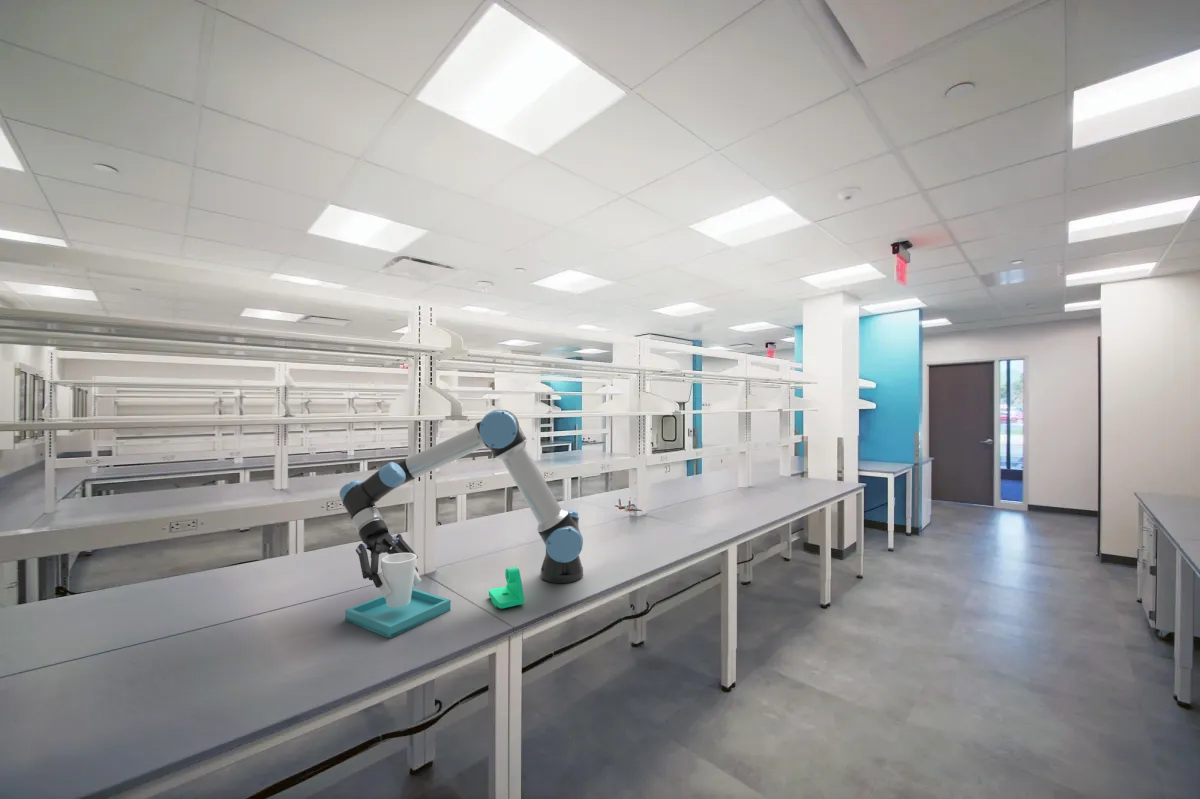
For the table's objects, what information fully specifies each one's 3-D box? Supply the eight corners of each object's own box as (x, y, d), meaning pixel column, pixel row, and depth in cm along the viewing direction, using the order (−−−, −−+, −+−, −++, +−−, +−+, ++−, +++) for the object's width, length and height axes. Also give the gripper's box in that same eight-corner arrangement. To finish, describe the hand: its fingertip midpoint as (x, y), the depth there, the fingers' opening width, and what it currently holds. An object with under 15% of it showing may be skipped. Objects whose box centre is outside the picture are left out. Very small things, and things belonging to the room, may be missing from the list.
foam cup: (406, 593, 142) (406, 550, 142) (422, 602, 136) (422, 557, 136) (374, 603, 134) (375, 558, 134) (390, 613, 128) (391, 565, 129)
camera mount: (487, 598, 148) (488, 565, 148) (511, 593, 151) (511, 561, 152) (499, 612, 137) (499, 577, 137) (524, 607, 141) (524, 573, 141)
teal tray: (406, 595, 149) (406, 586, 149) (450, 609, 138) (450, 599, 138) (345, 620, 131) (345, 609, 132) (390, 638, 121) (390, 627, 121)
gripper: (397, 525, 153) (429, 584, 145) (329, 542, 134) (361, 610, 126) (407, 511, 150) (440, 570, 142) (340, 526, 131) (373, 595, 123)
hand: (403, 589), depth 134 cm, fingers closed on foam cup, 9 cm apart
